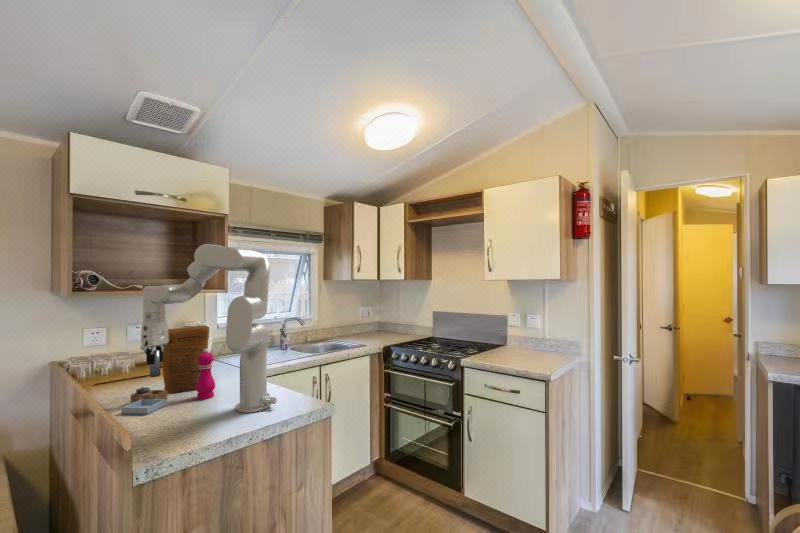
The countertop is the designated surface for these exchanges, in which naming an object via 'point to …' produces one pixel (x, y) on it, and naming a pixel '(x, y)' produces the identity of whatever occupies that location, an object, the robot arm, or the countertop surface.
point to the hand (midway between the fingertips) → (154, 362)
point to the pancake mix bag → (183, 357)
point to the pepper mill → (205, 376)
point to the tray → (144, 406)
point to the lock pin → (155, 365)
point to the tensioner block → (148, 394)
